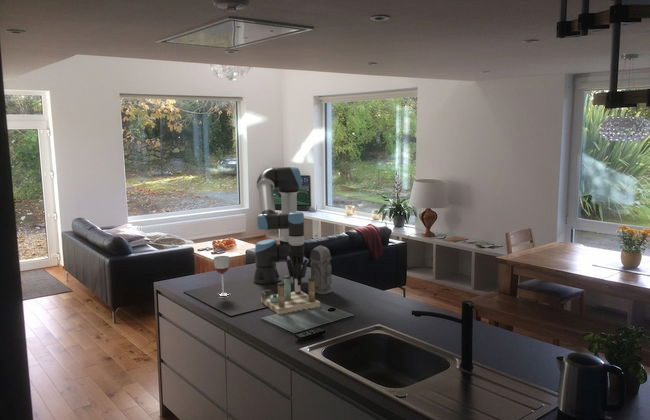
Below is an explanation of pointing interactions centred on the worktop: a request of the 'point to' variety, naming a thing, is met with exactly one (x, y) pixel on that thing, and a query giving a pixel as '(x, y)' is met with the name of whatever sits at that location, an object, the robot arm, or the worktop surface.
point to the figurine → (321, 269)
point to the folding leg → (286, 290)
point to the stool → (291, 299)
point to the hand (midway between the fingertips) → (297, 291)
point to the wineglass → (221, 268)
